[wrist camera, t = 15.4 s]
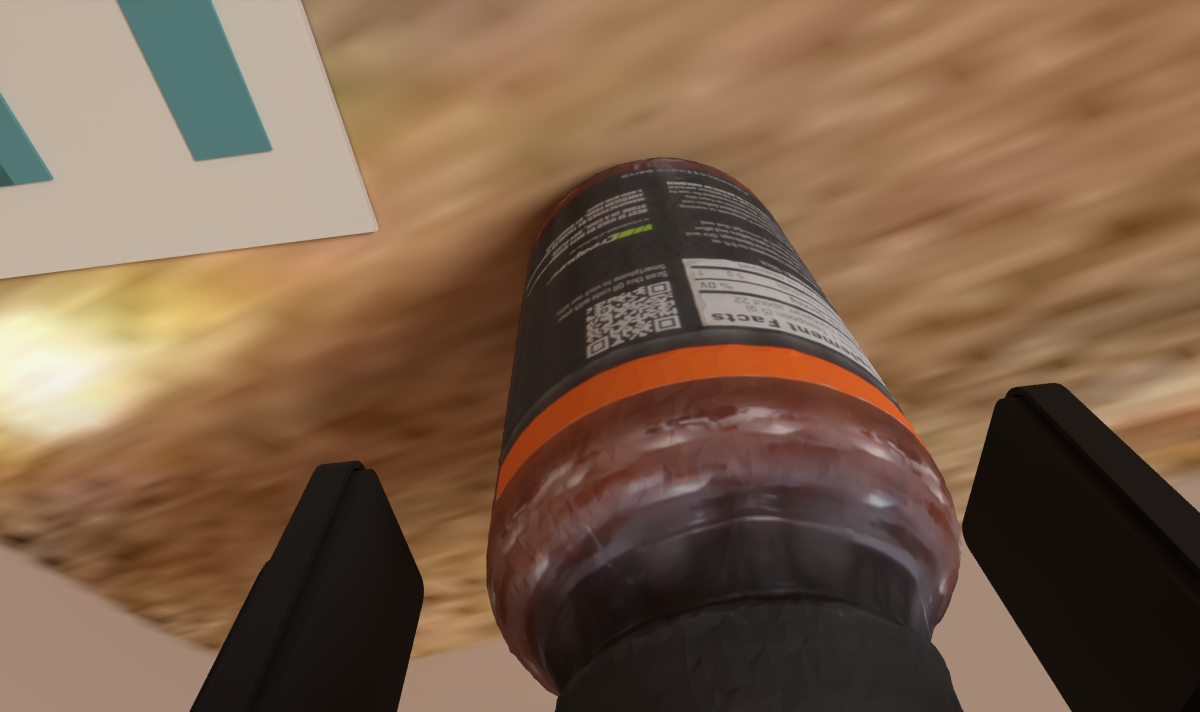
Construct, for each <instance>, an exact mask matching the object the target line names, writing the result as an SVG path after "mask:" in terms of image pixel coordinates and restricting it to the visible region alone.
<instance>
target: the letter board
mask: <svg viewBox="0 0 1200 712" xmlns="http://www.w3.org/2000/svg"><path fill="white" fill-rule="evenodd" d="M378 228H379V227H378V224H377V221H376V218H375V215H374V212H373V210H372V207H371V204H370V201H369V198H368V195H367V192H366V189H365V186H364V183H363V180H362V177H361V175H360V172H359V169H358V166H357V163H356V160H355V157H354V154H353V151H352V148H351V145H350V142H349V140H348V137H347V134H346V131H345V128H344V125H343V122H342V119H341V116H340V113H339V110H338V107H337V105H336V102H335V99H334V96H333V93H332V90H331V87H330V84H329V81H328V78H327V75H326V72H325V70H324V67H323V64H322V61H321V58H320V55H319V52H318V49H317V46H316V43H315V40H314V37H313V35H312V32H311V29H310V26H309V23H308V20H307V17H306V14H305V11H304V8H303V5H302V2H301V0H0V279H2V278H10V277H18V276H26V275H34V274H42V273H50V272H58V271H66V270H74V269H82V268H90V267H98V266H106V265H114V264H122V263H130V262H138V261H145V260H153V259H161V258H169V257H177V256H185V255H193V254H201V253H209V252H217V251H225V250H233V249H241V248H249V247H257V246H265V245H273V244H280V243H288V242H296V241H304V240H312V239H320V238H328V237H336V236H344V235H352V234H360V233H368V232H376V231H377V230H378Z"/></svg>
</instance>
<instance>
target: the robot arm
mask: <svg viewBox="0 0 1200 712" xmlns="http://www.w3.org/2000/svg"><path fill="white" fill-rule="evenodd" d="M962 531H963V536H964V539H965V542H966V544H967V546H968V548H969V550H970V551H971V553H972V554H973V556H974V558H975V559H976V561H977V562H978V564H979V566H980V567H981V569H982V570H983V572H984V573H985V575H986V576H987V578H988V580H989V581H990V583H991V585H992V586H993V588H994V589H995V591H996V592H997V594H998V595H999V597H1000V599H1001V600H1002V602H1003V603H1004V605H1005V607H1006V608H1007V610H1008V611H1009V613H1010V615H1011V616H1012V618H1013V619H1014V621H1015V623H1016V624H1017V626H1018V627H1019V629H1020V630H1021V632H1022V634H1023V635H1024V637H1025V638H1026V640H1027V642H1028V643H1029V645H1030V646H1031V648H1032V649H1033V651H1034V653H1035V654H1036V656H1037V657H1038V659H1039V661H1040V662H1041V664H1042V665H1043V667H1044V668H1045V670H1046V672H1047V673H1048V675H1049V676H1050V678H1051V680H1052V681H1053V682H1054V684H1055V685H1056V687H1057V689H1058V691H1059V692H1060V694H1061V695H1062V697H1063V699H1064V700H1065V702H1066V703H1067V705H1068V706H1069V708H1070V710H1071V711H1072V712H1200V513H1199V512H1198V511H1197V510H1196V509H1195V508H1194V507H1193V506H1192V505H1191V504H1190V503H1189V502H1188V501H1186V500H1185V499H1184V498H1183V497H1182V496H1181V495H1180V494H1179V493H1178V492H1177V491H1176V490H1175V489H1174V488H1173V487H1171V486H1170V485H1169V484H1168V483H1167V482H1166V481H1165V480H1164V479H1163V478H1162V477H1161V476H1160V475H1159V474H1158V473H1157V472H1155V471H1154V470H1153V469H1152V468H1151V467H1150V466H1149V465H1148V464H1147V463H1146V462H1145V461H1144V460H1143V459H1142V458H1140V457H1139V456H1138V455H1137V454H1136V453H1135V452H1134V451H1133V450H1132V449H1131V448H1130V447H1129V446H1128V445H1127V444H1125V443H1124V442H1123V441H1122V440H1121V439H1120V438H1119V437H1118V436H1117V435H1116V434H1115V433H1114V432H1113V431H1112V430H1110V429H1109V428H1108V427H1107V426H1106V425H1105V424H1104V423H1103V422H1102V421H1101V420H1100V419H1099V418H1098V417H1097V416H1096V415H1094V414H1093V413H1092V412H1091V411H1090V410H1089V409H1088V408H1087V407H1086V406H1085V405H1084V404H1083V403H1082V402H1081V401H1079V400H1078V399H1077V398H1076V397H1075V396H1074V395H1073V394H1072V393H1071V392H1070V391H1069V390H1068V389H1067V388H1065V387H1064V386H1062V385H1061V384H1057V383H1048V384H1039V385H1030V386H1021V387H1015V388H1011V389H1010V390H1009V391H1008V392H1007V394H1006V397H1005V398H1003V399H1000V400H999V401H997V403H996V405H995V407H994V411H993V415H992V418H991V422H990V425H989V429H988V433H987V436H986V440H985V443H984V447H983V450H982V454H981V458H980V461H979V465H978V468H977V472H976V476H975V479H974V483H973V486H972V490H971V494H970V497H969V501H968V504H967V508H966V512H965V515H964V519H963V524H962ZM423 598H424V586H423V580H422V577H421V575H420V572H419V570H418V568H417V565H416V563H415V561H414V558H413V556H412V554H411V552H410V549H409V547H408V545H407V542H406V540H405V538H404V536H403V533H402V531H401V529H400V526H399V524H398V522H397V519H396V517H395V515H394V513H393V510H392V508H391V506H390V503H389V501H388V499H387V497H386V494H385V492H384V490H383V487H382V485H381V483H380V481H379V478H378V476H377V474H376V472H375V471H374V470H373V469H365V467H364V466H363V464H362V463H361V462H359V461H349V462H340V463H331V464H322V465H320V466H318V467H317V468H316V470H315V471H314V472H313V474H312V476H311V479H310V481H309V483H308V485H307V487H306V489H305V491H304V493H303V495H302V497H301V499H300V501H299V503H298V505H297V507H296V509H295V511H294V513H293V515H292V517H291V519H290V521H289V523H288V525H287V527H286V529H285V531H284V533H283V535H282V537H281V539H280V541H279V543H278V545H277V547H276V549H275V551H274V553H273V555H272V557H271V559H270V560H269V561H268V562H267V563H266V564H265V565H264V567H263V568H262V570H261V571H260V573H259V575H258V577H257V579H256V581H255V582H254V584H253V586H252V588H251V590H250V592H249V594H248V596H247V598H246V600H245V602H244V604H243V606H242V608H241V610H240V612H239V614H238V616H237V618H236V620H235V622H234V624H233V626H232V628H231V630H230V632H229V634H228V636H227V638H226V640H225V642H224V644H223V646H222V648H221V650H220V652H219V654H218V656H217V658H216V660H215V662H214V664H213V666H212V668H211V670H210V672H209V674H208V676H207V678H206V680H205V682H204V684H203V686H202V688H201V690H200V692H199V694H198V696H197V698H196V700H195V702H194V704H193V706H192V708H191V710H190V712H397V709H398V705H399V701H400V697H401V692H402V688H403V684H404V680H405V676H406V671H407V667H408V663H409V659H410V654H411V650H412V646H413V642H414V638H415V633H416V629H417V625H418V621H419V616H420V612H421V608H422V604H423Z"/></svg>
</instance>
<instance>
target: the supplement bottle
mask: <svg viewBox="0 0 1200 712" xmlns="http://www.w3.org/2000/svg"><path fill="white" fill-rule="evenodd" d="M486 559H487V589H488V594H489V599H490V603H491V607H492V611H493V614H494V617H495V620H496V623H497V625H498V627H499V629H500V631H501V633H502V635H503V638H504V639H505V641H506V643H507V644H508V647H509V650H510V652H511V653H513V654H514V655H515V656H516V657H517V658H518V660H519V661H520V662H521V664H522V665H523V666H524V667H525V669H527V670H528V671H529V672H530V673H531V674H532V676H533V677H534V678H535V679H536V680H537V681H538V682H539V683H540V684H541V685H542V686H543V687H544V688H545V689H546V690H547V691H549V692H551V693H553V694H554V695H556V696H558V699H557V703H556V710H555V712H964V711H963V710H962V708H961V706H960V703H959V701H958V699H957V696H956V694H955V691H954V689H953V685H952V681H951V676H950V672H949V670H948V668H947V666H946V663H945V661H944V659H943V657H942V656H941V654H940V653H939V651H938V650H937V648H936V647H935V646H934V645H933V644H932V643H931V638H932V634H933V630H934V628H935V626H936V625H937V624H938V623H939V622H940V621H941V619H942V618H943V616H944V614H945V612H946V610H947V608H948V606H949V603H950V600H951V597H952V593H953V591H954V588H955V586H956V583H957V579H958V570H959V566H960V559H961V540H960V529H959V523H958V521H957V517H956V513H955V509H954V504H953V501H952V497H951V494H950V492H949V491H948V489H947V487H946V484H945V480H944V478H943V476H942V475H941V473H940V471H939V469H938V468H937V466H936V464H935V462H934V460H933V459H932V457H931V455H930V454H929V452H928V450H927V449H926V447H925V446H924V444H923V443H922V441H921V440H920V438H919V437H918V435H917V434H916V432H915V431H914V429H913V428H912V426H911V425H910V423H909V422H908V421H907V419H906V418H905V416H904V414H903V413H902V411H901V409H900V407H899V405H898V403H897V402H896V400H895V399H894V398H893V396H892V395H891V393H890V392H889V390H888V389H887V387H886V386H885V384H884V383H883V381H882V380H881V378H880V377H879V375H878V374H877V372H876V371H875V369H874V368H873V366H872V365H871V363H870V362H869V361H868V359H867V357H866V356H865V354H864V353H863V351H862V350H861V348H860V347H859V345H858V344H857V342H856V341H855V339H854V338H853V336H852V335H851V333H850V332H849V330H848V329H847V328H846V326H845V325H844V323H843V322H842V320H841V319H840V317H839V316H838V314H837V312H836V310H835V309H834V307H833V306H832V305H831V303H830V302H829V300H828V299H827V298H826V296H825V295H824V293H823V292H822V290H821V288H820V287H819V286H818V284H817V283H816V281H815V279H814V278H813V276H812V275H811V273H810V272H809V270H808V269H807V267H806V266H805V264H804V263H803V262H802V260H801V259H800V257H799V255H798V254H797V252H796V251H795V249H794V248H793V246H792V245H791V243H790V242H789V240H788V239H787V237H786V236H785V234H784V233H783V231H782V230H781V228H780V227H779V225H778V224H777V222H776V221H775V219H774V218H773V216H772V215H771V213H770V212H769V211H768V210H767V209H766V207H765V206H764V205H763V204H762V202H761V201H760V200H759V199H758V198H757V197H756V196H755V195H754V194H753V193H752V192H751V191H750V190H749V189H748V188H746V187H745V186H744V185H742V184H741V183H740V182H738V181H737V180H736V179H735V178H733V177H731V176H729V175H727V174H726V173H724V172H722V171H720V170H718V169H715V168H713V167H710V166H707V165H703V164H700V163H697V162H694V161H688V160H684V159H678V158H662V157H659V158H651V159H647V160H640V161H634V162H630V163H626V164H620V165H617V166H614V167H612V168H610V169H608V170H605V171H603V172H600V173H598V174H596V175H594V176H593V177H591V178H590V179H588V180H587V181H585V182H584V183H582V184H580V185H579V186H577V187H576V188H575V189H573V190H572V191H571V192H570V193H569V194H568V195H567V196H566V197H565V198H564V199H562V200H561V201H560V202H559V203H558V204H557V205H556V207H555V208H554V209H553V210H552V212H551V213H550V215H549V216H548V217H547V219H546V221H545V222H544V224H543V226H542V228H541V230H540V232H539V234H538V236H537V238H536V240H535V242H534V245H533V249H532V251H531V254H530V258H529V264H528V269H527V277H526V282H525V289H524V295H523V301H522V306H521V315H520V321H519V328H518V335H517V341H516V350H515V355H514V364H513V369H512V376H511V385H510V390H509V396H508V404H507V412H506V417H505V425H504V432H503V440H502V447H501V454H500V459H499V469H498V475H497V482H496V489H495V496H494V500H493V507H492V516H491V523H490V529H489V536H488V548H487V556H486Z"/></svg>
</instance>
